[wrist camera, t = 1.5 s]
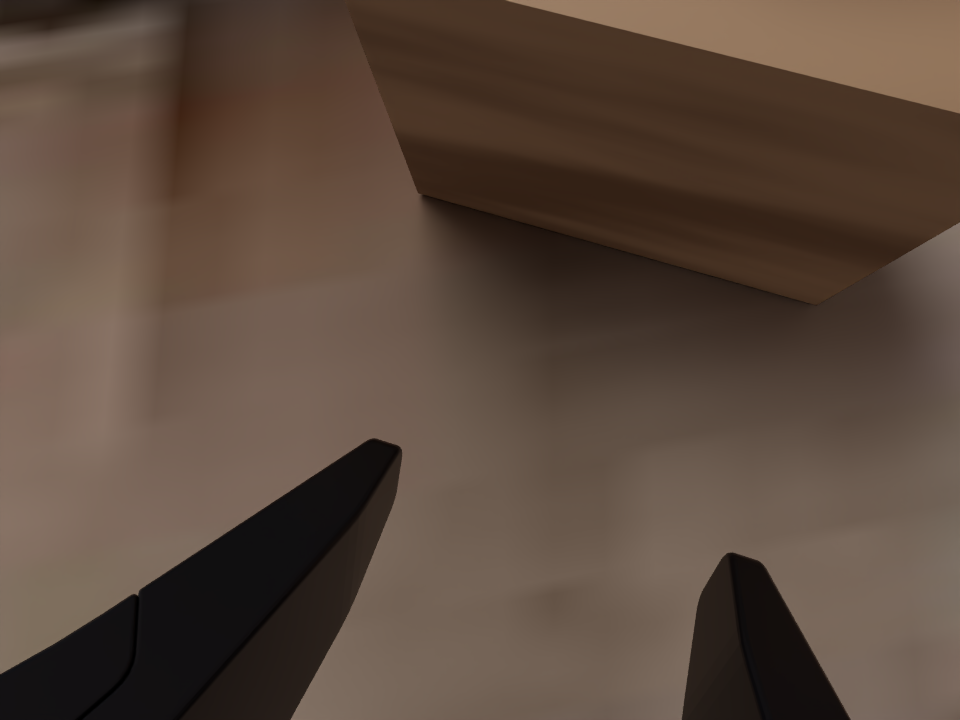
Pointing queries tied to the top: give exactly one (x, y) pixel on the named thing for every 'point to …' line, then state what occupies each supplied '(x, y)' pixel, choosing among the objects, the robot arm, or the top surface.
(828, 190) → the walnut t block
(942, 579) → the top surface
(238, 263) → the top surface
